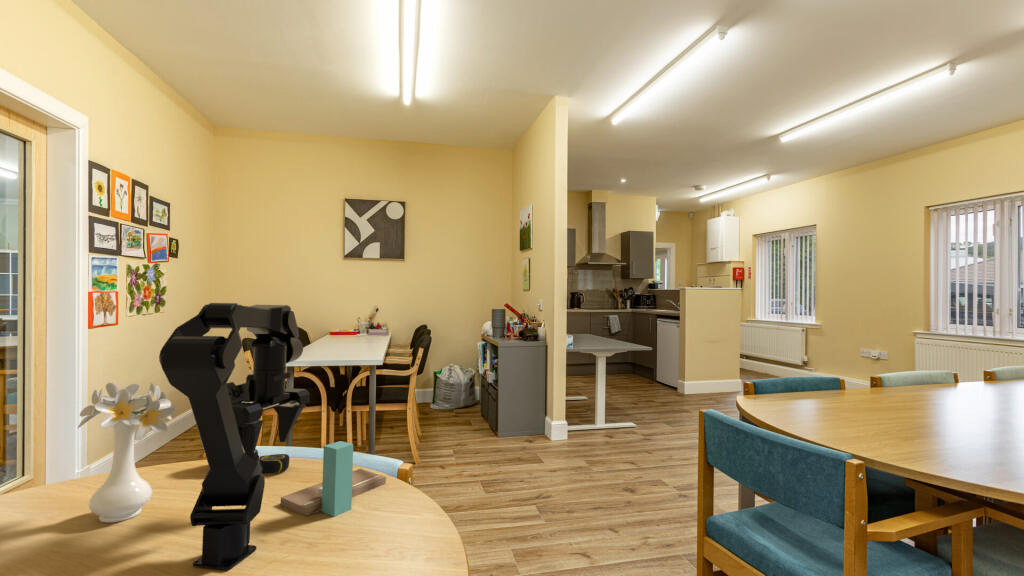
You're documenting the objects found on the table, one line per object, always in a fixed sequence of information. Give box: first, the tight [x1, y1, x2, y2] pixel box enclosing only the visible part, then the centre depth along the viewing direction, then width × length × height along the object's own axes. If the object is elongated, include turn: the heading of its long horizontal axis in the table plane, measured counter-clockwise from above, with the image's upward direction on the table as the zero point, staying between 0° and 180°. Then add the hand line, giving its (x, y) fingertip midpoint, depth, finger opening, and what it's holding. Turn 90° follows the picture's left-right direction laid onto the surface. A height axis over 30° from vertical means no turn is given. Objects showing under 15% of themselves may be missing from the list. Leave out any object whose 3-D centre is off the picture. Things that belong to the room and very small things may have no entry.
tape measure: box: [259, 453, 290, 475], centre depth 112 cm, size 7×7×4 cm
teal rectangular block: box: [318, 440, 354, 517], centre depth 93 cm, size 4×7×13 cm, turn 58°
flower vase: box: [77, 382, 177, 524], centre depth 88 cm, size 13×18×25 cm
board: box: [280, 468, 387, 517], centre depth 100 cm, size 20×9×2 cm, turn 147°
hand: (266, 448), depth 89 cm, fingers open, 9 cm apart
